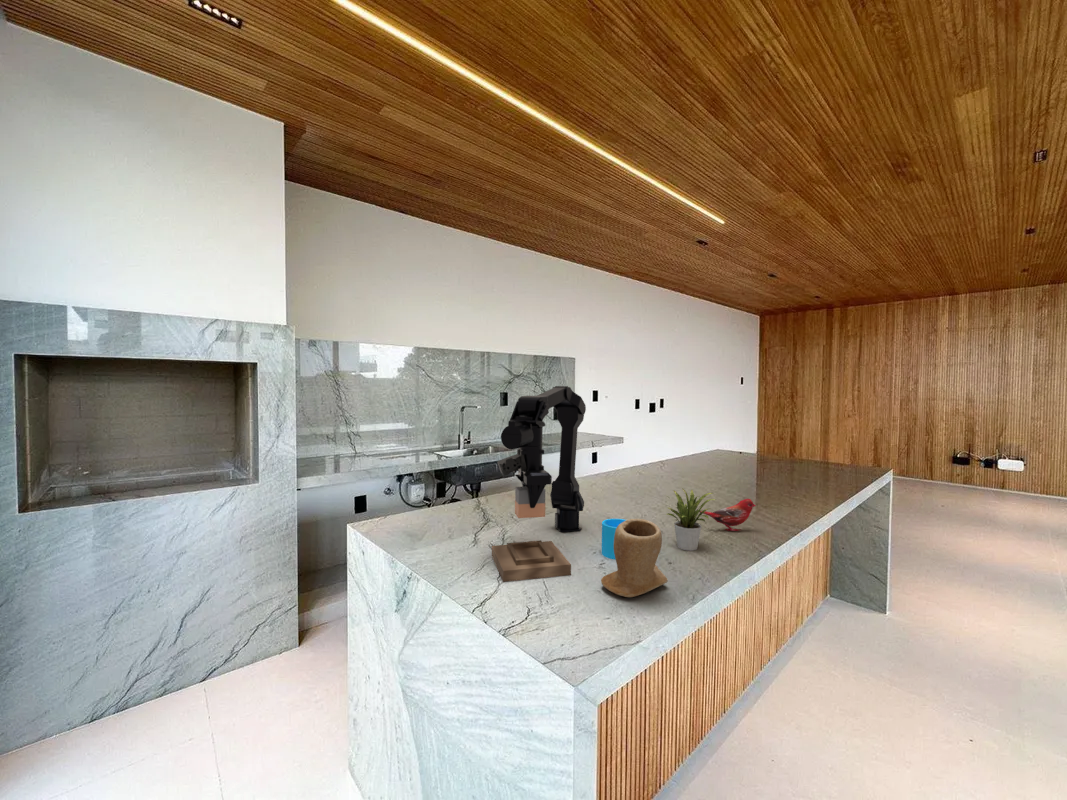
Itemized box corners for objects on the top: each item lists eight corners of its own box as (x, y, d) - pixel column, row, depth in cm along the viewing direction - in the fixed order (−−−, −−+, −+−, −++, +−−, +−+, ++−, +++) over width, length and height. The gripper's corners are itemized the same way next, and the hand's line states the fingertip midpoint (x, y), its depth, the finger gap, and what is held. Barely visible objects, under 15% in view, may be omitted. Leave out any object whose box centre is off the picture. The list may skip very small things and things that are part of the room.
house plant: (728, 547, 126) (730, 488, 125) (708, 562, 116) (709, 497, 115) (679, 535, 136) (680, 480, 135) (656, 547, 126) (657, 488, 125)
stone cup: (633, 609, 92) (635, 535, 91) (593, 587, 101) (594, 519, 101) (682, 590, 100) (684, 522, 100) (641, 571, 110) (642, 509, 109)
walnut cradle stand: (551, 550, 123) (551, 536, 123) (570, 574, 108) (571, 559, 107) (491, 555, 119) (491, 541, 119) (503, 581, 104) (503, 565, 103)
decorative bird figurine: (757, 533, 138) (758, 500, 138) (697, 532, 139) (698, 499, 138) (753, 529, 141) (754, 497, 141) (694, 529, 141) (695, 496, 141)
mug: (613, 562, 115) (614, 530, 115) (595, 551, 123) (595, 520, 122) (651, 554, 121) (652, 523, 120) (631, 544, 128) (632, 515, 128)
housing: (540, 512, 122) (541, 485, 122) (545, 516, 118) (545, 489, 118) (514, 513, 121) (515, 486, 120) (518, 518, 116) (518, 490, 116)
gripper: (494, 441, 126) (493, 498, 126) (506, 450, 108) (505, 517, 108) (534, 440, 128) (533, 496, 129) (552, 449, 110) (551, 514, 111)
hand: (530, 505), depth 119 cm, fingers closed on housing, 4 cm apart
